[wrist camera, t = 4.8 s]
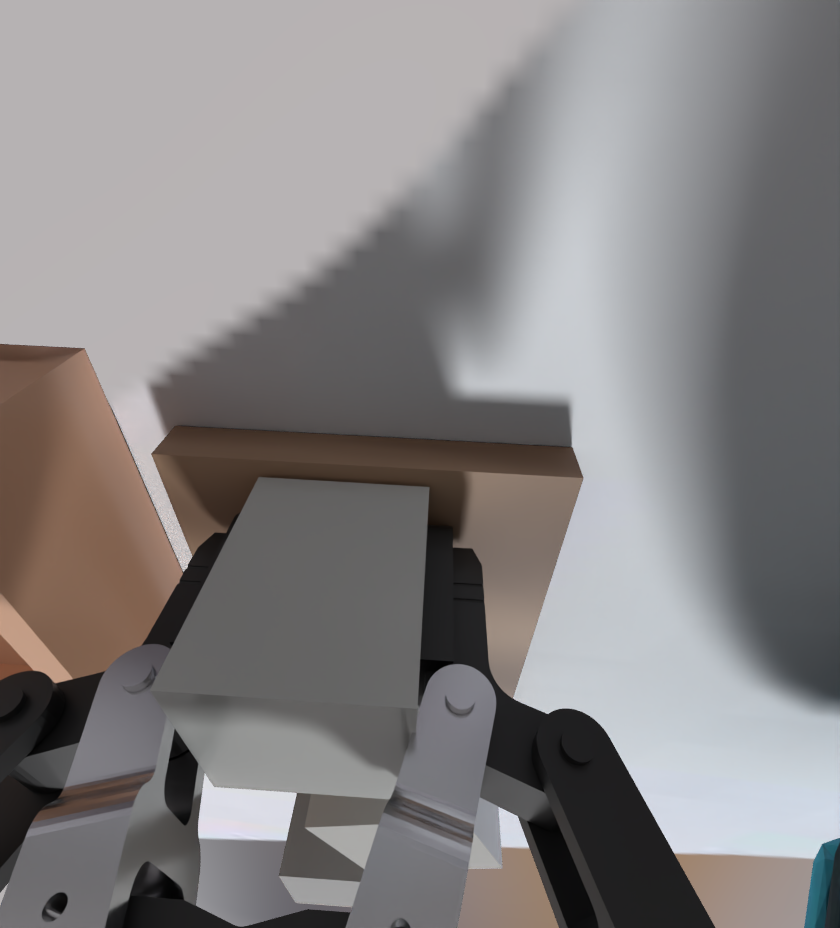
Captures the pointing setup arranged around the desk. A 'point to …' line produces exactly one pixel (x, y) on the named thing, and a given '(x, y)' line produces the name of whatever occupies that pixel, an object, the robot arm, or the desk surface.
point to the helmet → (825, 888)
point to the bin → (71, 522)
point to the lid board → (409, 464)
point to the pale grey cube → (358, 818)
